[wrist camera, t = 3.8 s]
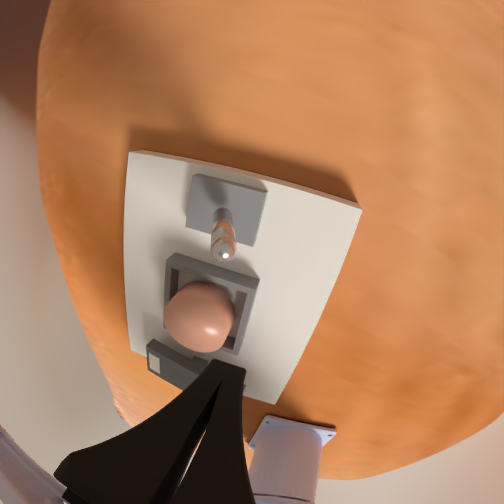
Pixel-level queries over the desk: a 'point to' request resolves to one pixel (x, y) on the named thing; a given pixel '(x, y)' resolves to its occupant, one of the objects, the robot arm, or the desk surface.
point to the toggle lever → (223, 235)
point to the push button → (199, 316)
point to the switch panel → (237, 269)
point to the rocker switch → (172, 365)
